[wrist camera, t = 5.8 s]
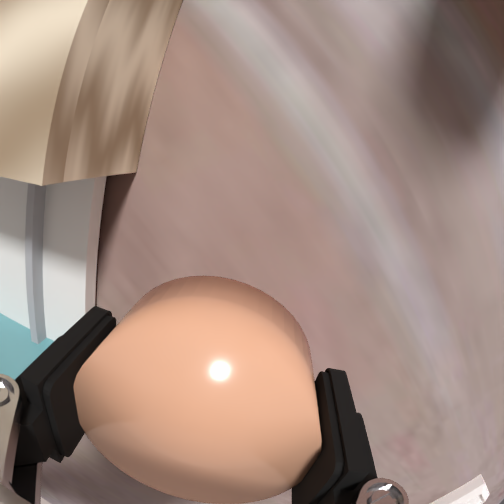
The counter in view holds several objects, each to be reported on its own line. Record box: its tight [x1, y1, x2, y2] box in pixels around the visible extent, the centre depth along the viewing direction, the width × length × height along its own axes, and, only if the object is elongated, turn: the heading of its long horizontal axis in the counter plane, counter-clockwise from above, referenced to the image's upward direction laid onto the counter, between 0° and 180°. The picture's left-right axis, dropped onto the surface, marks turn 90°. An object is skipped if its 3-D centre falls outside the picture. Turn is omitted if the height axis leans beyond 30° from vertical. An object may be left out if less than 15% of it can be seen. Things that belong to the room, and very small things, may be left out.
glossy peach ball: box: [73, 276, 322, 504], centre depth 8 cm, size 6×6×4 cm
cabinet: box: [0, 0, 183, 186], centre depth 10 cm, size 18×20×8 cm
